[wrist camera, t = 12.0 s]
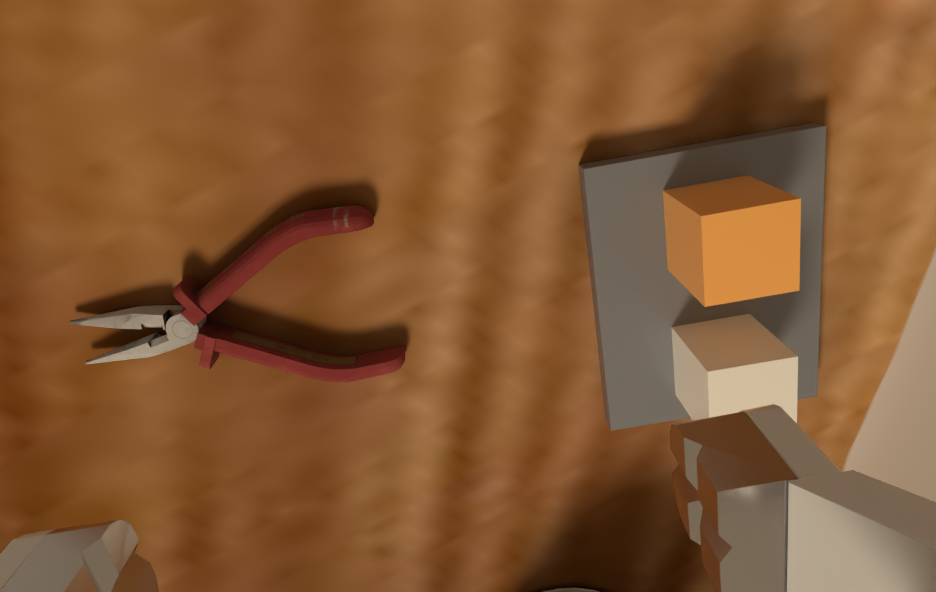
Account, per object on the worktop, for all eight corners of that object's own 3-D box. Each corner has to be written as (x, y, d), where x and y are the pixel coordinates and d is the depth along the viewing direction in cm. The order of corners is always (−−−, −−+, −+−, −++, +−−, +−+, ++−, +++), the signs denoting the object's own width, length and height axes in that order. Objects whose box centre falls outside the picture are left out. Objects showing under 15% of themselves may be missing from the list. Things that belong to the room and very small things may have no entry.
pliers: (52, 251, 40) (27, 265, 37) (371, 195, 39) (367, 205, 37) (120, 409, 44) (101, 430, 42) (409, 360, 44) (407, 379, 41)
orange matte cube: (662, 190, 38) (701, 216, 32) (747, 175, 38) (800, 198, 32) (667, 269, 40) (704, 307, 34) (749, 255, 39) (799, 290, 34)
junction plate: (578, 164, 39) (608, 191, 32) (812, 122, 38) (895, 140, 31) (605, 418, 45) (635, 487, 38) (805, 385, 45) (872, 448, 38)
